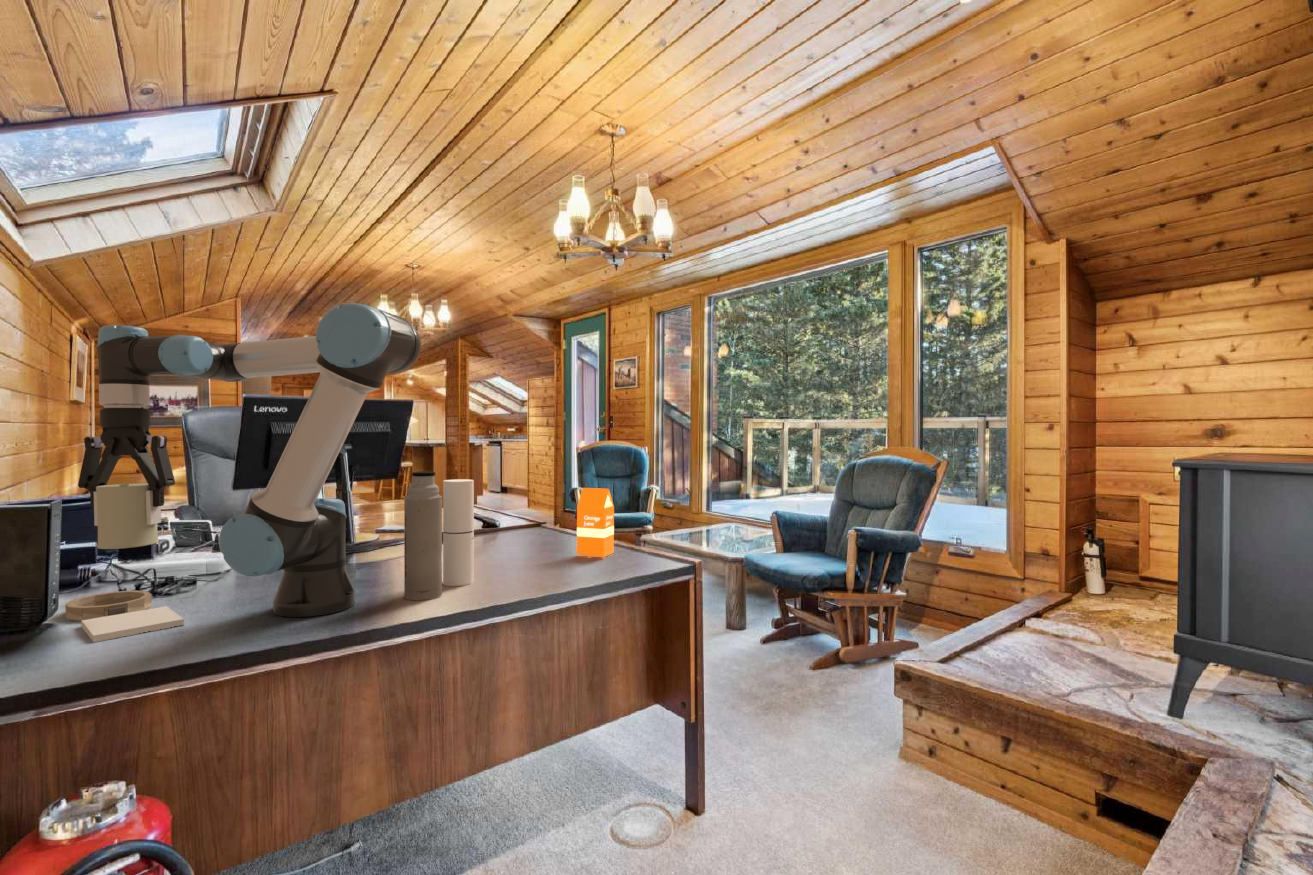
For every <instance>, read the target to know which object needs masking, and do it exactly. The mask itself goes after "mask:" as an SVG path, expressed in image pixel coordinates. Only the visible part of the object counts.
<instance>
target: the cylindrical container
mask: <svg viewBox="0 0 1313 875" xmlns="http://www.w3.org/2000/svg"><path fill="white" fill-rule="evenodd" d="M442 481H443V482H442V484H443V485H442V486H443V487H442V585H444V586H448V587H460V586H461V587H463V586H467V585H471V584H473V583H474V580H475V579H474V577H475V576H474V574H475V573H474V572H475V571H474V569H475V568H474V564H475V563H474V562H475V560H474V559H475V558H474V556H475V555H474V554H475V551H474V550H475V549H474V548H475V536H474V534H475V532H474V531H475V529H474V528H475V527H474V526H475V520H474V519H475V513H474V512H475V507H474V506H475V496H474V495H475V494H474V493H475V491H474V490H475V486H474V485H475V481H474V479H470V478H469V479H464V478H463V479H462V478H459V479H458V478H457V479H456V478H455V479H444V480H442Z"/></svg>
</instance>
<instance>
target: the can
mask: <svg viewBox="0 0 1313 875" xmlns="http://www.w3.org/2000/svg"><path fill="white" fill-rule="evenodd" d="M149 488H150V487H149V485H148V483H147V482H139V483H138V482H137V483H129V482H126V483H125V482H124V483H123V482H122V483H118V484H117V483H116V484H106V485H103V486H97V487H96V493H97V519H98V526H97V545H96V548H97V549H101V550H117V549H129V548H138V547H139V548H140V547H145V546H150V545H154V544H157V543H159V542H160V540H159V534H158V523H157V524H152V525H147V516H146V491H148V489H149Z"/></svg>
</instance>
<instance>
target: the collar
mask: <svg viewBox="0 0 1313 875" xmlns="http://www.w3.org/2000/svg"><path fill="white" fill-rule="evenodd" d="M148 607H149V608H150V607H152V593H151V592H149V590H148V591H147V590H133V589H132V590H122V591H121V590H120V591H119V590H118V591H111V592H102V593H96V594H91V595H87V596H83V597H78V598H74V599H72V600H70V601H68V602H66V603H65V607H64V608H65V617H66V619H67V620H68V621H70V620H71V621H79V622H81V620H87V619H93V618H99V617H105V616H111V615H117V614H123V613H129V612H135V611H141V610H147V608H148ZM149 608H148V609H149Z"/></svg>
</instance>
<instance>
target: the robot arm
mask: <svg viewBox="0 0 1313 875" xmlns="http://www.w3.org/2000/svg"><path fill="white" fill-rule="evenodd" d="M97 333H98V335H97V345H96V350H97V358H98V359H97V360H98V362H97V364H98V404H99V405H100V406H103V408H100V410H99V426H100V427H101V430H102V432H101V434H100V435H99V436H86V437H84V439H83V440H84V441H83V443H84V454H83V458H82V464H81V470H80V474H79V477H78V483H77V486H78V487H79V488H80V489H85V490H88V491H89V494H90V495H89V501H90V502H89V503H90V508H92V509H93V516H94V517H93V518H94V521H93V522H94V524H93V525H94V527H95V526H96V527H98V519H97V493H96V487H97V486H103V485H108V484H107V483H108V482H109V480H110V478H111V476H112V474H113V471H114V469H115V467H116V465H117V464H118V462H119V460H120V459H122V457H123V456H128V457H131V459H132V460H134V461H135V462H136V464H137V466H138V468H139V470H140V472H141V473H142V475H143V477H144V479H145V481H146V483H148V485H149V487H150V488H149V489H148V491H146V516H147V525H152V524H157V525H158V524H161V523H162V509H161V507H163V506H164V505H165V490H166V488H169V487H171V486H174V485H175V484H176V481H175V477H174V472H173V468H172V463H171V461H170V457H169V456H170V455H169V453H168V450H167V443H168V438H167V436H166V435H151V433H150V430H149V428H150V426H151V410H150V409H149V408H147V406H149V405H150V404H151V398H150V397H151V395H150V377H155V376H156V377H157V376H159V377H163V376H164V377H165V376H167V377H169V376H172V377H173V376H174V377H184V378H195V379H206V380H207V379H209V380H216V381H217V380H218V381H224V382H228V383H229V382H231V383H234V382H236V383H237V382H245V381H248V380H249V379H251V378H253V379H254V378H264V377H265V378H267V377H278V376H279V377H280V376H290V375H291V376H292V375H303V374H304V375H305V374H315V373H316V374H317V373H319V376H318V378H317V380H316V382H315V385H314V387H313V389H312V391H311V393H310V395H309V397H308V400H307V402H306V404H305V405H304V407H303V409H302V412H301V413H300V416H299V418H298V420H297V422H296V424H295V426H294V428H293V430H292V433H291V434H290V437H289V439H288V441H287V443H286V445H285V448H284V450H283V452H282V453H281V456H280V458H279V460H278V462H277V464H276V466H275V469H274V471H273V473H272V475H271V477H270V479H269V480H268V483H267V485H266V488H263V489H260V490H258V491H255V492H254V493H253V494H252V496H251V497H250V499H249V501H248V504H247V506H246V508H245V510H244V511H243V513H239V514H237V515H234V516H233V517H231V518H229V519H228V520H227V521H226V522H225V523H224V524H223V526H222V528H221V530H220V532H219V537H218V546H219V550H220V553H221V554H222V555H223V556H222V557H223V560H224V562H225V563H226V564H227V565H228V566H229V567H230V568H231V569H232V570H233V571H234V572H236V573H238V574H240V575H242V576H247V577H259V576H265V575H266V576H267V575H268V576H269V575H270V574H271V575H272V574H274V573H276V572H278V571H281V570H282V575H281V578H280V580H279V581H280V582H279V584H278V586H277V590H276V592H275V595H274V598H273V602H272V612H273V614H275V615H277V616H280V617H287V618H288V617H289V618H304V617H305V618H306V617H317V616H323V615H330V614H333V613H337V612H341V611H345V610H347V609H349V608H351V607H353V606H354V605H355V603H356V602H355V601H356V600H355V599H356V598H355V597H356V596H355V595H356V594H355V590H354V587H353V585H352V581H351V579H350V576H349V573H348V571H347V565H346V563H347V562H346V560H347V559H346V554H347V552H346V550H347V549H346V548H347V547H346V545H347V544H346V542H347V541H346V539H347V535H346V534H347V531H346V530H347V518H348V517H347V514H346V503H345V502H344V500H342V499H340V498H324V497H323V498H318V497H319V495H320V493H321V491H322V489H323V487H324V485H325V482H326V480H328V477H329V474H330V472H331V470H332V468H333V466H334V465H335V462H336V460H337V457H338V456H339V454H340V452H341V450H342V448H343V445H344V444H345V442H346V440H347V437H348V435H349V433H350V431H351V428H352V427H353V425H354V423H355V420H356V418H357V416H358V414H359V413H360V411H361V408H362V406H363V405H364V402H365V400H366V398H367V396H368V394H371V393H372V392H376V391H379V389H380V388H381V387H382V386H383V382H384V381H385V378H386V377H387V374H388V375H389V374H400V373H403V372H406V371H408V370H409V369H411V367H413V366H414V365H415V363H416V362H417V361H418V359H419V357H420V354H421V350H422V341H421V337H420V335H419V332H418V330H417V329H416V327H415V326H414V325H413V324H412V323H411V322H410V321H409V320H407V319H406V318H404V317H402V316H399V315H397V314H392V313H390V312H387V311H385V310H381V309H379V308H377V307H374V306H372V305H369V304H364V303H363V304H361V303H358V302H347V303H343V304H340V305H337V306H334V307H333V308H331V309H329V310H328V311H327V312H326V313H325V314H324V315H323V316H322V317H321V319H320V321H319V323H318V324H317V328H316V331H315V335H313V336H301V337H291V338H290V337H289V338H277V339H267V340H266V339H265V340H255V341H245V342H234V343H233V342H232V343H217V342H210V341H205V340H204V339H203V338H202V337H200V336H196V335H184V334H176V335H163V336H162V335H161V336H149V331H147V329H145V328H143V327H140V326H134V325H133V326H132V325H117V324H113V325H112V324H111V325H109V324H108V325H104V326H101V327H100V328H99V329H98V332H97ZM148 445H149V446H150V450H151V452H150V450H149V449H148V447H147V446H148ZM103 446H104V449H103ZM152 458H153V459H152Z"/></svg>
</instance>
